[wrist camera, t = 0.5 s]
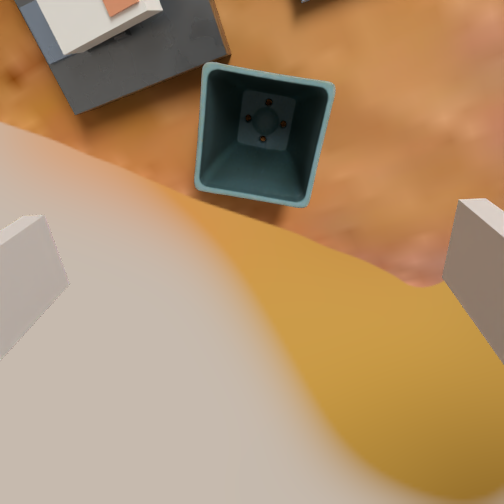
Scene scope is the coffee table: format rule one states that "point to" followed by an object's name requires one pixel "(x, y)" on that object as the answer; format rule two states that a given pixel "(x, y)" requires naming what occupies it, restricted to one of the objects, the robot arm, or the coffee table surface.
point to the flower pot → (260, 134)
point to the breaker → (93, 20)
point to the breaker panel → (132, 52)
